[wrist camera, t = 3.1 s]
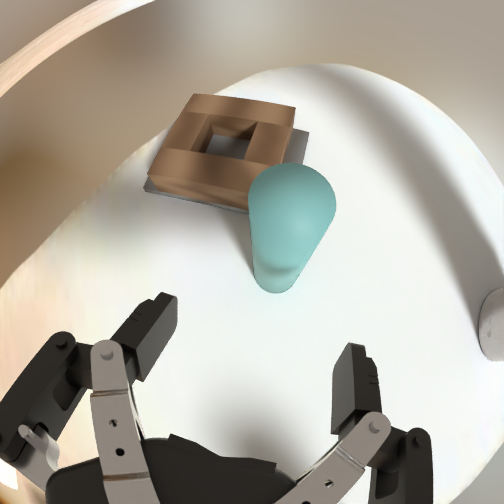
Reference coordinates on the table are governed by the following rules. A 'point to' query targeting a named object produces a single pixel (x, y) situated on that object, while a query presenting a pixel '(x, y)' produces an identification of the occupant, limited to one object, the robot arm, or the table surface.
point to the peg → (287, 222)
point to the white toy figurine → (8, 475)
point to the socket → (224, 150)
